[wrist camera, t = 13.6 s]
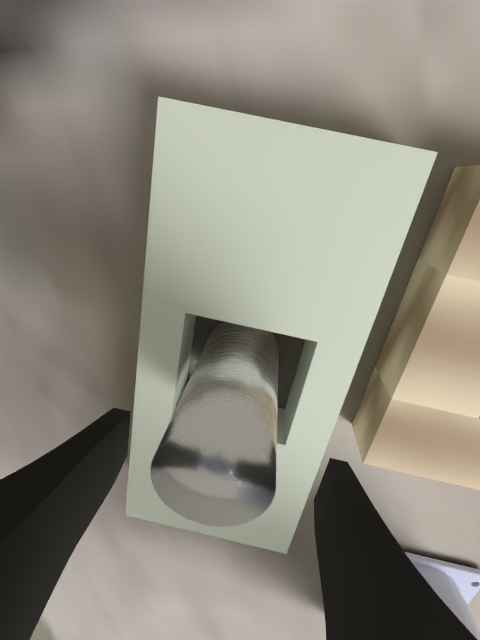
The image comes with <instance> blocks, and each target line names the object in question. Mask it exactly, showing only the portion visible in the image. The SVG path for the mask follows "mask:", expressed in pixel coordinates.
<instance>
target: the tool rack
mask: <svg viewBox="0 0 480 640" xmlns="http://www.w3.org/2000/svg"><path fill="white" fill-rule="evenodd" d="M437 153H438V152H434V151H429V150H424V149H419V148H414V147H409V146H404V145H399V144H394V143H389V142H384V141H379V140H374V139H369V138H364V137H359V136H354V135H349V134H344V133H339V132H334V131H329V130H324V129H319V128H314V127H309V126H304V125H299V124H294V123H289V122H284V121H279V120H274V119H269V118H264V117H259V116H254V115H249V114H244V113H239V112H234V111H229V110H224V109H219V108H214V107H209V106H204V105H199V104H194V103H189V102H184V101H179V100H174V99H169V98H164V97H159V96H158V106H157V119H156V131H155V144H154V157H153V169H152V182H151V195H150V207H149V220H148V233H147V245H146V258H145V271H144V283H143V296H142V309H141V321H140V334H139V347H138V359H137V372H136V385H135V397H134V410H133V423H132V435H131V448H130V461H129V474H128V486H127V499H126V512H125V515H126V516H130V517H134V518H138V519H143V520H147V521H151V522H155V523H159V524H163V525H168V526H172V527H176V528H180V529H184V530H188V531H192V532H197V533H201V534H205V535H209V536H213V537H217V538H222V539H226V540H230V541H234V542H238V543H242V544H247V545H251V546H255V547H259V548H263V549H267V550H272V551H276V552H280V553H284V554H287V551H288V549H289V546H290V543H291V541H292V538H293V536H294V533H295V530H296V528H297V525H298V522H299V520H300V517H301V514H302V512H303V509H304V506H305V504H306V501H307V498H308V496H309V493H310V490H311V488H312V485H313V482H314V480H315V477H316V474H317V472H318V469H319V466H320V464H321V461H322V459H323V456H324V453H325V451H326V448H327V445H328V443H329V440H330V437H331V435H332V432H333V429H334V427H335V424H336V421H337V419H338V416H339V413H340V411H341V408H342V405H343V403H344V400H345V397H346V395H347V392H348V390H349V387H350V384H351V382H352V379H353V376H354V374H355V371H356V368H357V366H358V363H359V360H360V358H361V355H362V352H363V350H364V347H365V344H366V342H367V339H368V336H369V334H370V331H371V328H372V326H373V323H374V320H375V318H376V315H377V313H378V310H379V307H380V305H381V302H382V299H383V297H384V294H385V291H386V289H387V286H388V283H389V281H390V278H391V275H392V273H393V270H394V267H395V265H396V262H397V259H398V257H399V254H400V251H401V249H402V246H403V243H404V241H405V238H406V236H407V233H408V230H409V228H410V225H411V222H412V220H413V217H414V214H415V212H416V209H417V206H418V204H419V201H420V198H421V196H422V193H423V190H424V188H425V185H426V182H427V180H428V177H429V174H430V172H431V169H432V166H433V164H434V161H435V159H436V156H437ZM197 316H202V317H206V318H211V319H215V320H220V321H224V322H229V323H234V324H238V325H243V326H247V327H252V328H256V329H261V330H265V331H270V332H274V333H279V334H284V335H288V336H293V337H297V338H302V339H305V343H304V346H303V350H302V353H301V356H300V360H299V363H298V367H297V370H296V373H295V377H294V380H293V383H292V387H291V390H290V394H289V397H288V400H287V404H286V407H285V409H283V408H278V407H277V456H276V491H275V496H274V499H273V501H272V503H271V505H270V506H269V507H268V509H267V510H266V511H265V512H264V513H263V514H262V515H260V516H259V517H257V518H256V519H254V520H252V521H250V522H247V523H245V524H241V525H236V526H229V527H216V526H208V525H204V524H199V523H196V522H193V521H191V520H188V519H186V518H184V517H182V516H180V515H179V514H177V513H176V512H174V511H173V510H172V509H170V508H169V507H168V506H167V505H166V504H165V503H164V502H163V501H162V500H161V499H160V497H159V496H158V494H157V493H156V491H155V489H154V487H153V484H152V481H151V474H150V469H151V463H152V459H153V457H154V455H155V453H156V451H157V449H158V446H159V444H160V442H161V440H162V438H163V436H164V433H165V431H166V429H167V427H168V425H169V423H170V420H171V418H172V416H173V414H174V412H175V410H176V407H177V405H178V403H179V401H180V399H181V397H182V394H183V392H184V390H185V388H186V384H187V377H188V370H189V364H190V357H191V350H192V344H193V337H194V330H195V323H196V317H197Z"/></svg>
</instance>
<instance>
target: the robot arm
mask: <svg viewBox="0 0 480 640" xmlns="http://www.w3.org/2000/svg"><path fill="white" fill-rule="evenodd" d="M129 424H130V411H125V410H121V409H117V408H113V409H111V410H110V411H108V412H107V413H106V414H104V415H103V416H101V417H100V418H99V419H97V420H96V421H94V422H93V423H92V424H90V425H89V426H87V427H86V428H85V429H83V430H82V431H80V432H79V433H77V434H76V435H74V436H73V437H71V438H70V439H68V440H67V441H66V442H64V443H63V444H61V445H59V446H58V447H56V448H55V449H53V450H52V451H50V452H48V453H47V454H45V455H43V456H42V457H40V458H39V459H37V460H35V461H34V462H32V463H30V464H28V465H27V466H25V467H23V468H21V469H19V470H18V471H16V472H14V473H12V474H10V475H8V476H6V477H4V478H3V479H1V480H0V640H30V637H31V635H32V633H33V631H34V629H35V627H36V625H37V623H38V621H39V619H40V617H41V614H42V612H43V610H44V608H45V606H46V604H47V602H48V600H49V598H50V596H51V594H52V592H53V590H54V588H55V586H56V584H57V582H58V580H59V578H60V576H61V574H62V572H63V570H64V568H65V566H66V564H67V562H68V560H69V558H70V556H71V554H72V552H73V551H74V549H75V547H76V545H77V544H78V542H79V540H80V539H81V537H82V535H83V534H84V532H85V531H86V529H87V527H88V526H89V524H90V522H91V521H92V519H93V517H94V516H95V514H96V512H97V511H98V509H99V508H100V506H101V504H102V503H103V501H104V499H105V498H106V496H107V494H108V493H109V491H110V489H111V488H112V486H113V484H114V482H115V480H116V478H117V476H118V474H119V472H120V470H121V468H122V465H123V463H124V461H125V459H126V457H127V451H128V438H129ZM314 524H315V538H316V546H317V554H318V562H319V570H320V578H321V586H322V594H323V601H324V611H325V621H326V640H480V632H479V630H478V628H477V626H476V623H475V621H474V619H473V616H472V614H471V612H470V610H469V607H468V603H469V602H470V601H471V599H472V598H473V597H474V596H475V594H476V593H477V592H478V590H479V589H480V570H479V569H475V568H471V567H467V566H463V565H458V564H454V563H450V562H446V561H442V560H437V559H433V558H429V557H425V556H420V555H416V554H412V553H408V552H404V551H403V549H402V548H401V547H400V545H399V544H398V542H397V541H396V539H395V538H394V537H393V535H392V534H391V532H390V531H389V529H388V528H387V526H386V525H385V523H384V521H383V520H382V518H381V517H380V515H379V514H378V512H377V510H376V509H375V507H374V506H373V504H372V502H371V501H370V499H369V497H368V496H367V494H366V492H365V491H364V489H363V487H362V486H361V484H360V482H359V481H358V479H357V477H356V475H355V474H354V472H353V470H352V469H351V467H350V465H349V464H348V462H345V461H341V460H336V459H332V458H330V460H329V463H328V465H327V468H326V470H325V473H324V476H323V478H322V481H321V483H320V486H319V488H318V491H317V494H316V496H315V499H314Z"/></svg>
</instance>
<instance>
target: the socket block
mask: <svg viewBox="0 0 480 640" xmlns="http://www.w3.org/2000/svg"><path fill="white" fill-rule="evenodd" d="M352 426H353V430H354V433H355V437H356V440H357V444H358V447H359V451H360V454H361V458H362V461H363V463H364V464H369V465H373V466H377V467H382V468H386V469H390V470H395V471H399V472H404V473H408V474H412V475H417V476H421V477H425V478H430V479H434V480H438V481H443V482H447V483H451V484H456V485H460V486H464V487H469V488H473V489H477V490H480V165H473V166H460V167H455V168H454V171H453V173H452V176H451V178H450V181H449V183H448V186H447V188H446V191H445V193H444V195H443V198H442V200H441V203H440V205H439V208H438V210H437V213H436V215H435V218H434V220H433V223H432V225H431V228H430V230H429V233H428V235H427V238H426V240H425V243H424V245H423V248H422V250H421V253H420V255H419V258H418V260H417V263H416V265H415V268H414V270H413V273H412V275H411V278H410V280H409V283H408V285H407V288H406V290H405V293H404V295H403V298H402V300H401V303H400V305H399V308H398V310H397V313H396V315H395V318H394V320H393V323H392V325H391V328H390V330H389V333H388V335H387V338H386V340H385V343H384V345H383V348H382V350H381V353H380V355H379V358H378V360H377V363H376V365H375V368H374V370H373V373H372V375H371V378H370V380H369V383H368V385H367V388H366V390H365V393H364V395H363V398H362V400H361V403H360V405H359V408H358V410H357V413H356V415H355V418H354V420H353V423H352Z"/></svg>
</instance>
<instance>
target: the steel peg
mask: <svg viewBox="0 0 480 640" xmlns="http://www.w3.org/2000/svg"><path fill="white" fill-rule="evenodd" d="M277 401H278V344H277V341H276V338H275V337H274V335H273V333H272V332H270V331H265V330H261V329H256V328H252V327H247V326H243V325H238V324H234V323H229V322H224V321H223V322H222V323H220V324H219V325H218V326H216V327H215V328H214V330H213V331H212V332H211V334H210V336H209V338H208V340H207V342H206V345H205V347H204V349H203V351H202V353H201V355H200V358H199V360H198V362H197V364H196V366H195V368H194V371H193V373H192V375H191V377H190V379H189V381H188V384H187V386H186V388H185V390H184V392H183V394H182V397H181V399H180V401H179V403H178V405H177V407H176V410H175V412H174V414H173V416H172V418H171V420H170V423H169V425H168V427H167V429H166V431H165V433H164V436H163V438H162V440H161V442H160V444H159V446H158V449H157V451H156V453H155V455H154V457H153V459H152V463H151V469H150V474H151V481H152V484H153V487H154V489H155V491H156V493H157V494H158V496H159V497H160V499H161V500H162V501H163V502H164V503H165V504H166V505H167V506H168V507H169V508H170V509H172V510H173V511H174V512H176V513H177V514H179V515H180V516H182V517H184V518H186V519H188V520H191V521H193V522H196V523H199V524H204V525H208V526H216V527H229V526H236V525H241V524H245V523H247V522H250V521H252V520H254V519H256V518H257V517H259V516H260V515H262V514H263V513H264V512H265V511H266V510H267V509H268V507H269V506H270V505H271V503H272V501H273V499H274V496H275V491H276V456H277Z"/></svg>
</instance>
